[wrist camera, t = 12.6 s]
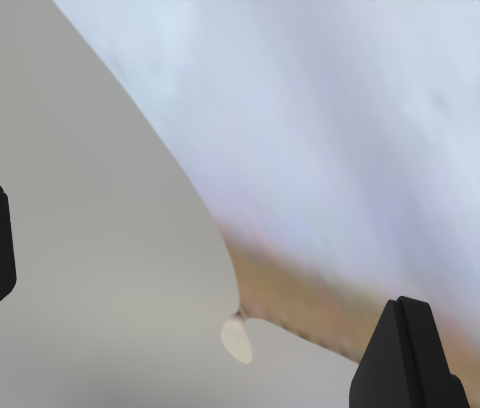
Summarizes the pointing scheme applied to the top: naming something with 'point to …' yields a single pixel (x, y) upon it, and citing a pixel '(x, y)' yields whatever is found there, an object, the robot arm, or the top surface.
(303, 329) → the top surface
